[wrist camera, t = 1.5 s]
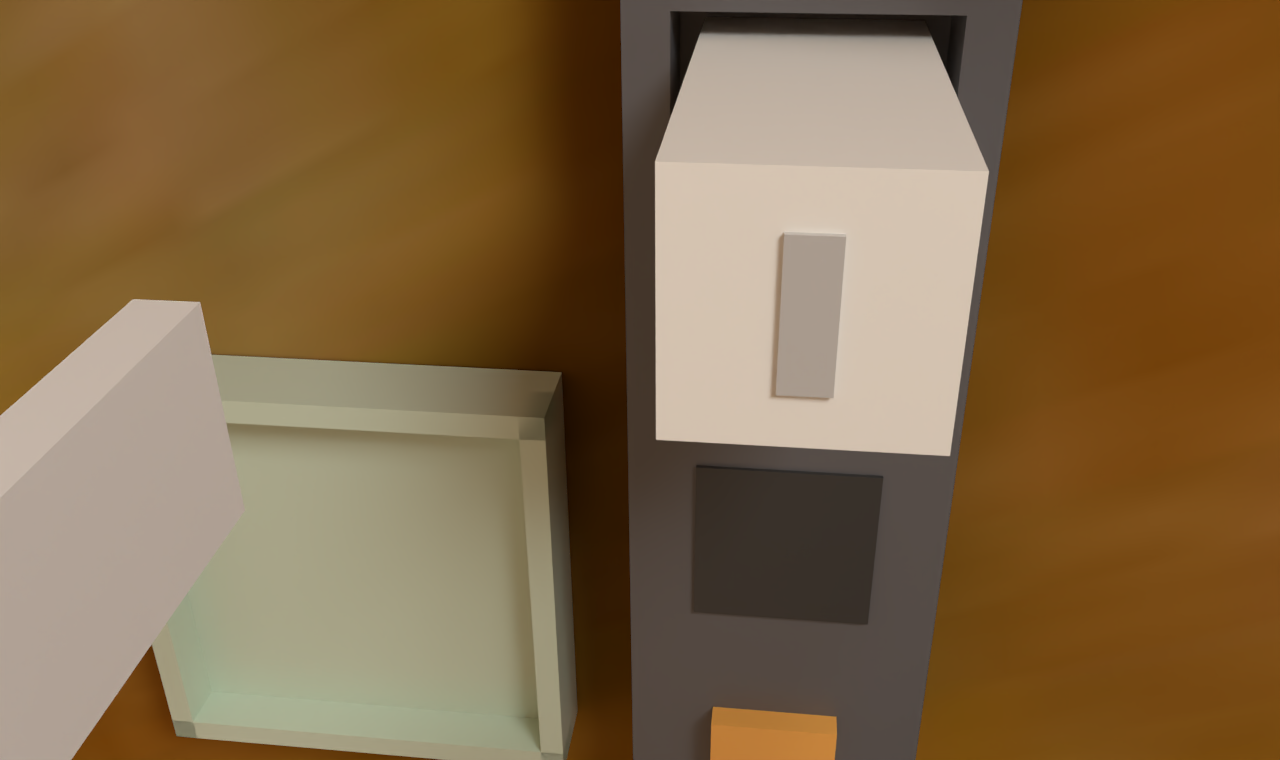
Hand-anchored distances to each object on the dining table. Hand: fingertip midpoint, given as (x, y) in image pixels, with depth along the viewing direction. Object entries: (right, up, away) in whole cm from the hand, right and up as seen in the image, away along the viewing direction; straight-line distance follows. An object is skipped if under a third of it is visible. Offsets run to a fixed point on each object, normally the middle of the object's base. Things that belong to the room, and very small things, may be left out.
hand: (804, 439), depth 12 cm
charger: (+2, +6, +11) cm, 13 cm away
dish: (-9, -4, +19) cm, 22 cm away
